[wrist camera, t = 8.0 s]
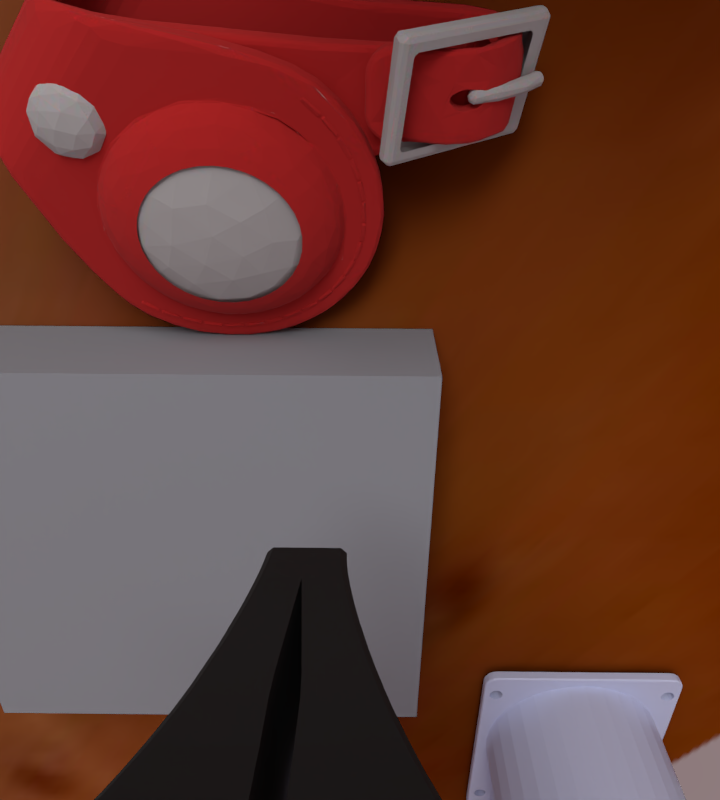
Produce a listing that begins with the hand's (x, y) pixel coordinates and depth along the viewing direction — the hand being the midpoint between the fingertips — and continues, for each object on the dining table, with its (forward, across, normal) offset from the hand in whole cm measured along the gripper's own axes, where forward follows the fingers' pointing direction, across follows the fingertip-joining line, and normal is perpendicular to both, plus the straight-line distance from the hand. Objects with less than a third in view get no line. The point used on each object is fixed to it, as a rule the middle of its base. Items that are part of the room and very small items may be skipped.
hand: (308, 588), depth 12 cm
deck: (+9, +4, +6) cm, 12 cm away
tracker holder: (+10, +1, -6) cm, 12 cm away
